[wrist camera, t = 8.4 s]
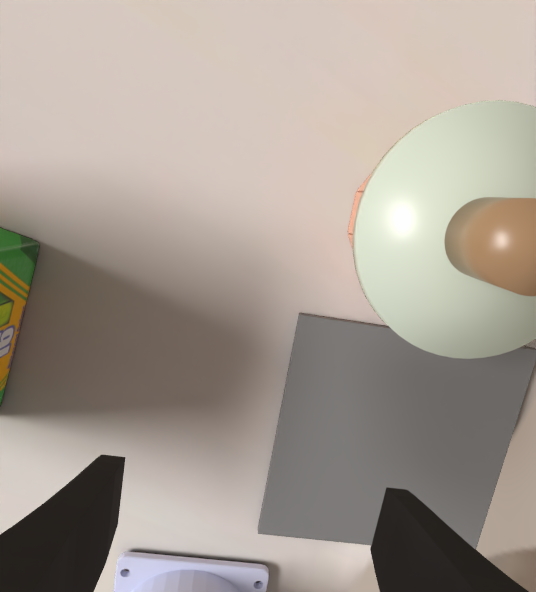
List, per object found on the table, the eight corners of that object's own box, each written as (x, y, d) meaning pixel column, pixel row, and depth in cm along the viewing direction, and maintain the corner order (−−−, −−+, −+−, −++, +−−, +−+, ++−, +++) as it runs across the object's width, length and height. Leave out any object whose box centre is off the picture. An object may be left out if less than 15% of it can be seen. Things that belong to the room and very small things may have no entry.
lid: (554, 365, 18) (632, 408, 14) (332, 338, 17) (356, 377, 13) (627, 126, 16) (738, 107, 12) (379, 83, 15) (422, 49, 11)
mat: (470, 549, 25) (473, 555, 25) (258, 528, 24) (258, 533, 23) (533, 348, 22) (538, 350, 22) (299, 312, 21) (300, 314, 21)
